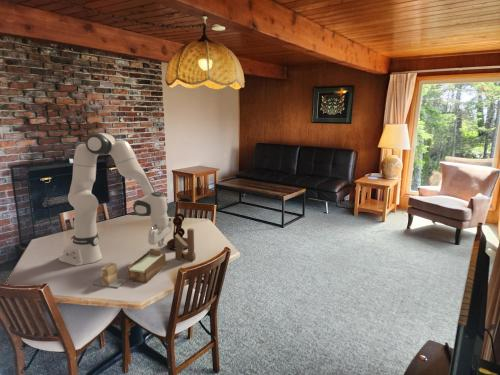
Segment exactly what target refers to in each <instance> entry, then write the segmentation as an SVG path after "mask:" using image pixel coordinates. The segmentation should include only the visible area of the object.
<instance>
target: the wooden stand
mask: <svg viewBox="0 0 500 375" xmlns="http://www.w3.org/2000/svg"><path fill="white" fill-rule="evenodd" d="M186 232H187V233H186V236H187V237H186V238H187V241H188V244H187V243H186V242H185V241H184V240H183V239H182V238H181V237H180V236H179V235H178V234H176V235H175V249H174V251H175V252H174V253H175V254H174V255H175V256H174V258H175V260H177V261H178V260H180V261H181V260H183V261H188V262H189V261H191V262H194V261H195V260H196V252H195V229H194V228H188V229H187V231H186ZM185 248H186V249H185ZM184 249H185V250H187V251H184Z"/></svg>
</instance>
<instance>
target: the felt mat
mask: <svg viewBox="0 0 500 375" xmlns="http://www.w3.org/2000/svg"><path fill="white" fill-rule="evenodd" d="M126 282H127V280H126V279H121V278H118V279H117V280H115V281H114V282H113V283H112V284H110V285H109V286H108V285H102V277H100V278H99V279H97V280H96V281H95V282H93V285H94V286H100V287H108V288H112V289H119V288H120V287H121V286H122V285H124V284H125V283H126Z"/></svg>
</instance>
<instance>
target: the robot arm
mask: <svg viewBox="0 0 500 375" xmlns="http://www.w3.org/2000/svg"><path fill="white" fill-rule="evenodd" d="M100 155H110V156H111V157H112V160H113V162H114V164H115V167H116V170H117V171H118V173H119V174H120V175H121V176H122V177H124V178H126V179H130V180H131V179H132V180H134V181H135V182H137V183H138V185H139V187H140V189H141V191H142V193H143V197H141V198H138V199H137V200H135V201H134V202H133V204H132V208H133V212H134V213H135V215H137V216H138V217H147V216H148V217H150V225H151V227H150V229H149V231H148V235H147V236H148V239H147V240H148V244H149V245H150V246H151V245H152V246H153V245H154V246H155V245H157V247H158V248H161V247H162V246H164V245H165V244H164V241H165V237H167V236H168V235H170V234H171V232H172V229H173V228H172V227H173V226H172V222H173V218H172V217H171V216H169V215H168V212H167V211H168V203H167V202H168V200H167V198H166V195H165V194H164V193H162V192H159V191H156V190H155V187H154V186H153V184H152V181H151V180H150V179H149V177H148V175H147V173H146V172H145V170H144V169H143V168H142V166H141V165H140V163H139V161H138V159H137V156H136V153H135V152H134V150H133V147H131V144H130V143H129V142H128V141H127V140H123V139H122V140H121V139H120V140H117V138H116V137H115V136H114V135H113V134H111V133H108V132H97V133H96V132H95V133H92V134H90V135H89V136H88V137H87V138H86V140H85V143H80V144H78V145H77V146H76V147H75V150H74V155H73V163H72V164H73V165H72V176H71V177H72V179H71V184H70V188H69V193H68V194H67V201H68V203H69V205H71V207H73V210H74V221H73V230H74V235H73V236H71V237H70V238H71V239H70V240H72V239H73V240H72V242H70V243H69V244H68V245H67V246H66V247H64V249H63V251H62V252H63V254H62V255H61V256H59V258H58V261H59V262H63V263H65V264H68V265H73V266H77V267H78V266H82V265H83V266H84V265H88V264H93V263H96V262H98V261H100V260H102V258H103V255H102V252H101V248H100V243H99V233H98V228H97V214H98V209H99V200H98V198H97V197H96V196H95V195H94V193H92V190H93V185H94V183H95V182H96V175H97V160H98V157H99V156H100Z"/></svg>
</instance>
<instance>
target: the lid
mask: <svg viewBox="0 0 500 375" xmlns="http://www.w3.org/2000/svg"><path fill="white" fill-rule="evenodd" d="M163 254H164V253H163ZM163 254H162V249H159V248H150V249H149V254H148V255H147V256H145V257H144V258H143V259H141V260H140V261H139V262H138V263H136V264H135V265H134V266H133V267H131V268H130V269H129V271H134V272H141V273H145V269H147V268H148V267H149V266H150V265H151V264H152V263H154V262H155V261H156V260H157V259H158V258H159V257H161V256H162V255H163Z"/></svg>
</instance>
